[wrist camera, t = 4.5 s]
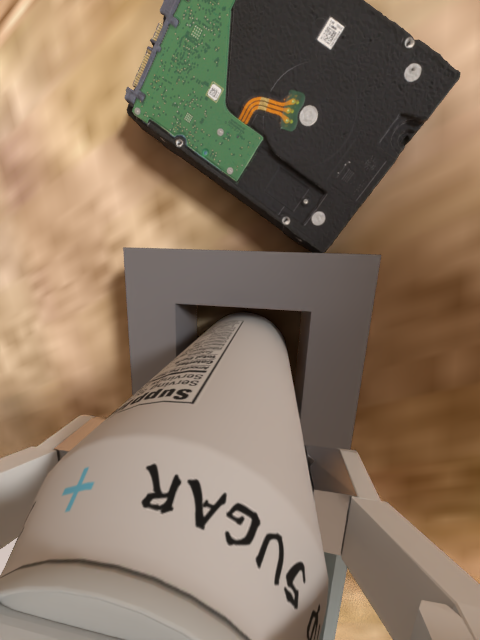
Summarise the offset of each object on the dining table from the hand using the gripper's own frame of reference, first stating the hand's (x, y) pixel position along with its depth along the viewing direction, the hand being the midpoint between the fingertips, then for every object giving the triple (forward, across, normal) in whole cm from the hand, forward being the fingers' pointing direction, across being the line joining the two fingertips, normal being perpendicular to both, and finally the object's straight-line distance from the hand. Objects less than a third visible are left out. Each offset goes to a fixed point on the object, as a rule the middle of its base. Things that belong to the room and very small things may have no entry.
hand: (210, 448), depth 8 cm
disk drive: (+11, -1, -15) cm, 19 cm away
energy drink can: (+10, 0, 0) cm, 10 cm away
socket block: (+10, 0, 0) cm, 10 cm away
